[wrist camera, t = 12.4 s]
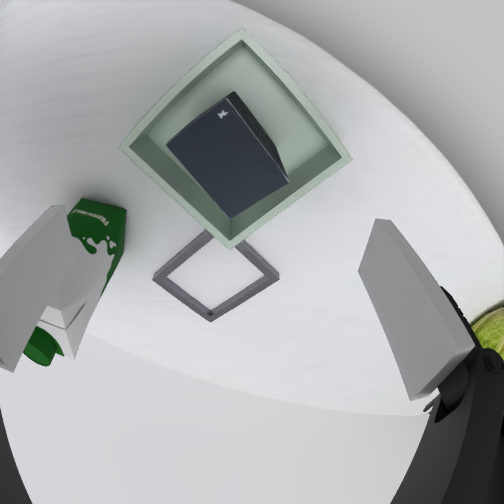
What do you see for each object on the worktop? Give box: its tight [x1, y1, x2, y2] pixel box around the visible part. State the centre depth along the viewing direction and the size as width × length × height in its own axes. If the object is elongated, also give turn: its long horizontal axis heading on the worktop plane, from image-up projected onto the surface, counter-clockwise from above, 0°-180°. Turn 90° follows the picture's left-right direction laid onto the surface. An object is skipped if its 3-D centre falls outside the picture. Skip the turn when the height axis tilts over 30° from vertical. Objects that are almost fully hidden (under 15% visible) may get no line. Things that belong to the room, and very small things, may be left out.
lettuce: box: [471, 307, 504, 360], centre depth 46 cm, size 15×25×16 cm
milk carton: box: [23, 198, 127, 366], centre depth 26 cm, size 9×9×20 cm
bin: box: [118, 28, 353, 250], centre depth 26 cm, size 16×16×6 cm
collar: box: [152, 230, 280, 322], centre depth 38 cm, size 12×14×1 cm
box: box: [166, 91, 289, 219], centre depth 23 cm, size 8×6×11 cm
